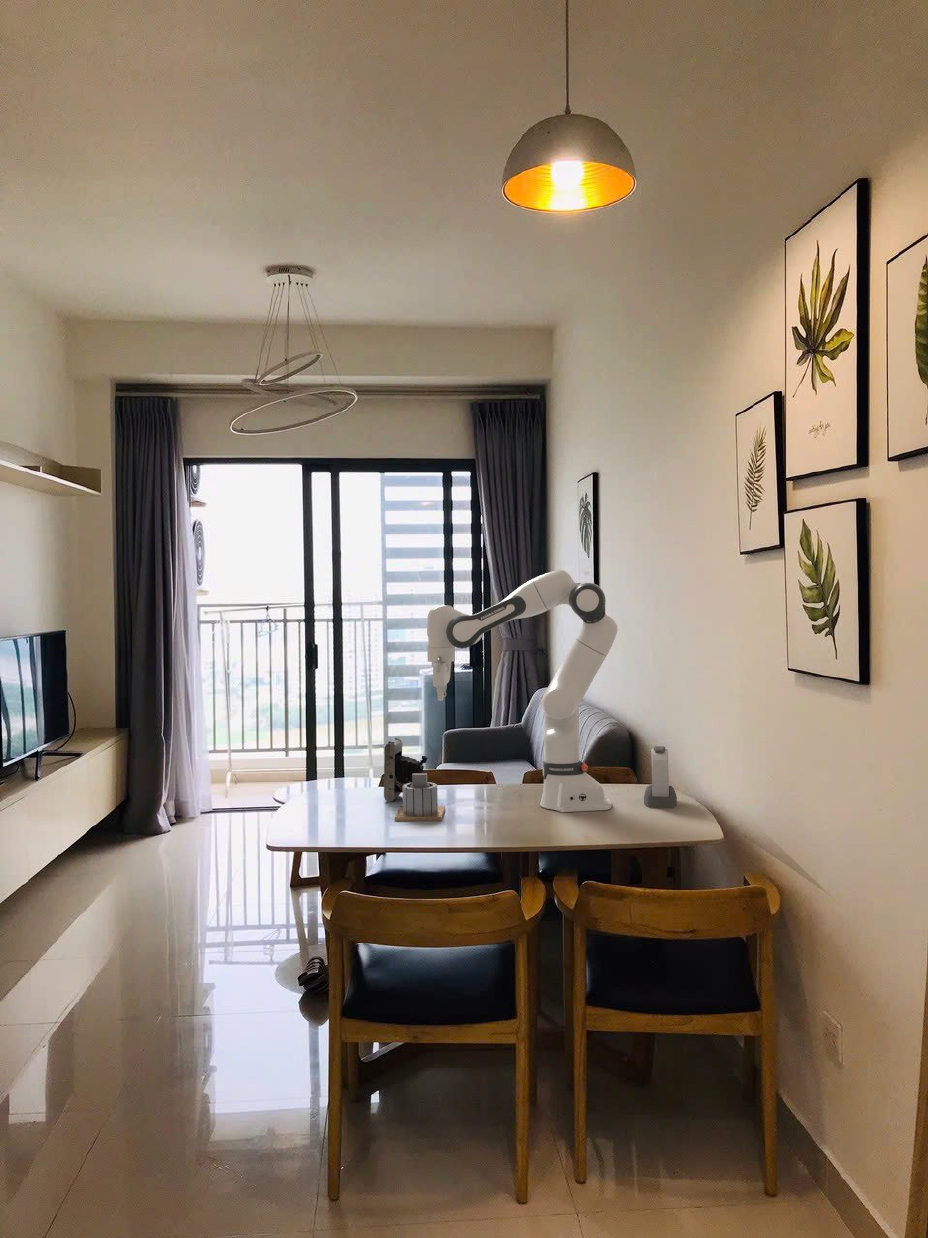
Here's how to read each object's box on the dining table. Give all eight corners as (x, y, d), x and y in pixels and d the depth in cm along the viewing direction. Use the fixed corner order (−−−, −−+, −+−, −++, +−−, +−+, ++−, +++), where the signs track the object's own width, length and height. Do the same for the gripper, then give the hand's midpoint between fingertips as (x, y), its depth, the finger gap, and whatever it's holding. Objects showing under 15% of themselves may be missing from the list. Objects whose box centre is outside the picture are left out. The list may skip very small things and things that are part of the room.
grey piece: (644, 797, 290) (643, 742, 290) (676, 798, 288) (675, 742, 287) (643, 809, 274) (642, 750, 274) (677, 810, 272) (676, 751, 272)
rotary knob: (430, 789, 274) (430, 772, 274) (428, 794, 268) (428, 775, 268) (411, 790, 275) (411, 772, 275) (408, 794, 269) (408, 776, 269)
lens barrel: (445, 809, 278) (444, 780, 278) (441, 821, 264) (440, 790, 264) (401, 810, 279) (400, 781, 279) (394, 821, 265) (394, 790, 265)
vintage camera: (428, 804, 288) (429, 743, 287) (382, 802, 291) (383, 741, 291) (435, 798, 297) (436, 739, 297) (391, 796, 300) (392, 737, 300)
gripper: (448, 658, 275) (449, 702, 275) (453, 654, 295) (454, 695, 295) (428, 658, 275) (428, 702, 275) (434, 654, 296) (435, 695, 296)
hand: (441, 698), depth 286 cm, fingers open, 8 cm apart
